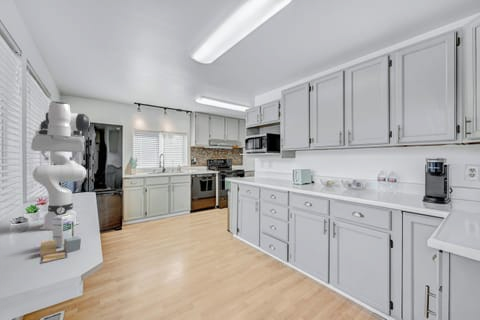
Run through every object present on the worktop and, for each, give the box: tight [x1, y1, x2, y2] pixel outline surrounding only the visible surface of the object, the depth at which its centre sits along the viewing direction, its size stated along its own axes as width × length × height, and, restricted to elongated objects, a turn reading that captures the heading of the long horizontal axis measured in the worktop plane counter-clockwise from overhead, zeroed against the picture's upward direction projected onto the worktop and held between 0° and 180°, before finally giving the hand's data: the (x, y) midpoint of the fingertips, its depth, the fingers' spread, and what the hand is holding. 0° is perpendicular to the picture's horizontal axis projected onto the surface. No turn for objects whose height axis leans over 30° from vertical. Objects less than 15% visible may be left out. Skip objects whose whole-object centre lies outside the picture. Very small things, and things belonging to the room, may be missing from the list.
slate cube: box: [63, 235, 82, 254], centre depth 97 cm, size 5×5×5 cm
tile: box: [39, 251, 68, 265], centre depth 89 cm, size 8×8×1 cm
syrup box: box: [52, 214, 75, 249], centre depth 102 cm, size 6×6×14 cm
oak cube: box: [40, 239, 57, 258], centre depth 93 cm, size 5×5×5 cm
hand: (59, 160), depth 105 cm, fingers open, 8 cm apart
